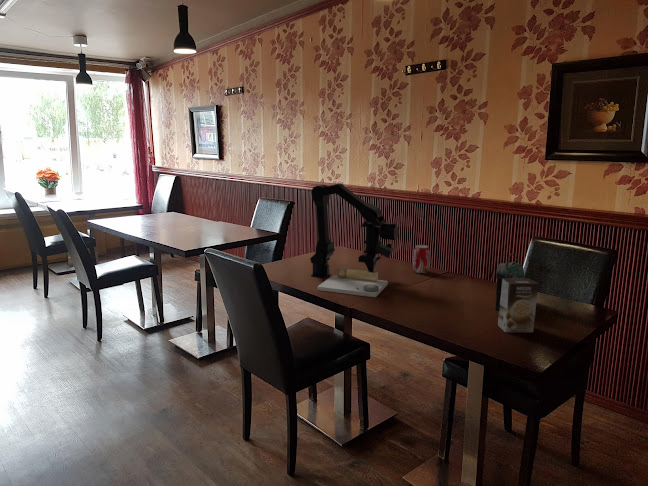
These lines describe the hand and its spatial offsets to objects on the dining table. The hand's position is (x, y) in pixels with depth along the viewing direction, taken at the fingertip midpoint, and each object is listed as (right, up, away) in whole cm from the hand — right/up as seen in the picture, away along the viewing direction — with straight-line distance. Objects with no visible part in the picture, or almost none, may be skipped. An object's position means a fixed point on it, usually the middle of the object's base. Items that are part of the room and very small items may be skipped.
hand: (371, 274), depth 204 cm
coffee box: (+41, -14, -48) cm, 65 cm away
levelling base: (-8, -5, -6) cm, 11 cm away
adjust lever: (-6, -2, +1) cm, 6 cm away
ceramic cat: (+47, -10, -26) cm, 55 cm away
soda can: (+24, 0, +17) cm, 29 cm away
